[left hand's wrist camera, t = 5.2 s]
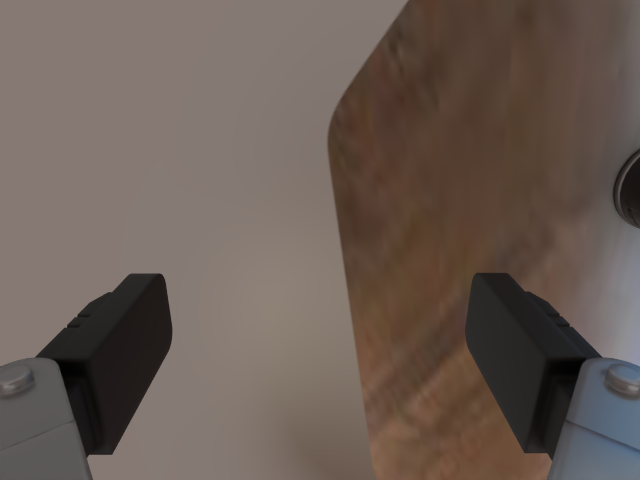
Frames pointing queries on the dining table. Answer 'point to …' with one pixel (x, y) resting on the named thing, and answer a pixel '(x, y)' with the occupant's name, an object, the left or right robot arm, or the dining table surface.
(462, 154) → the dining table surface
